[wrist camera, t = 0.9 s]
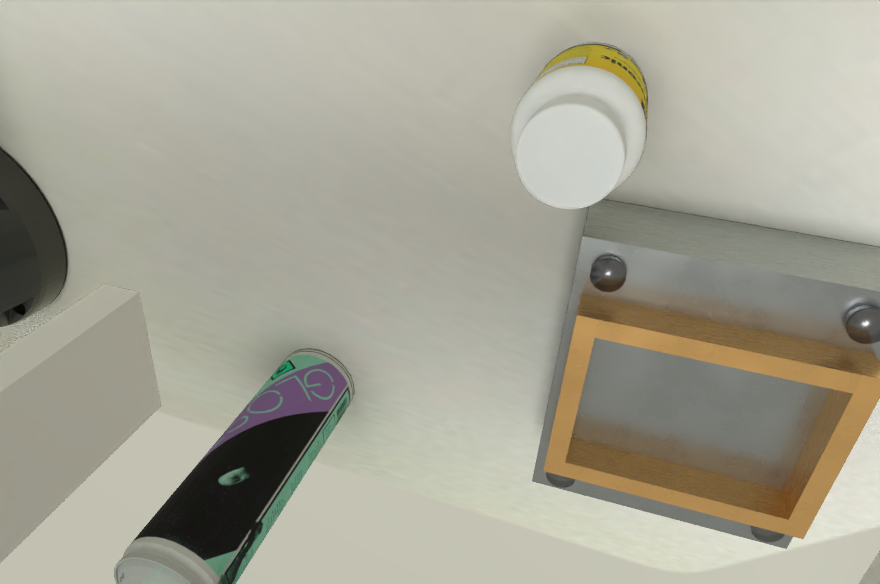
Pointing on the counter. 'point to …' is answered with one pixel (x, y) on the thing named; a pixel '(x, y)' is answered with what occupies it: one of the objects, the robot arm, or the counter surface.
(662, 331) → the mold
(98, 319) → the robot arm
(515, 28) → the counter surface
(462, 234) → the counter surface
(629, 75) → the supplement bottle
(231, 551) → the spray can
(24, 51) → the counter surface
